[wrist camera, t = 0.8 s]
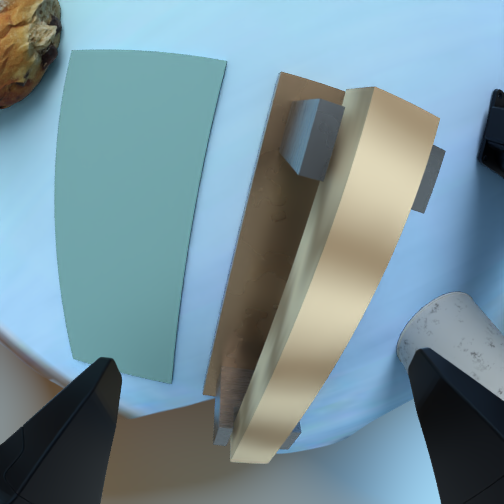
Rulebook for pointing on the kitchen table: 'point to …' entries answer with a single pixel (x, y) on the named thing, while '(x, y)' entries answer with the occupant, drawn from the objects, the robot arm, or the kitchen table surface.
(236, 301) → the bracketed wooden plank
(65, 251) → the mat
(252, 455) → the rail
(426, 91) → the kitchen table surface
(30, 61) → the bread roll
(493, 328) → the grey stone cylinder
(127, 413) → the kitchen table surface
